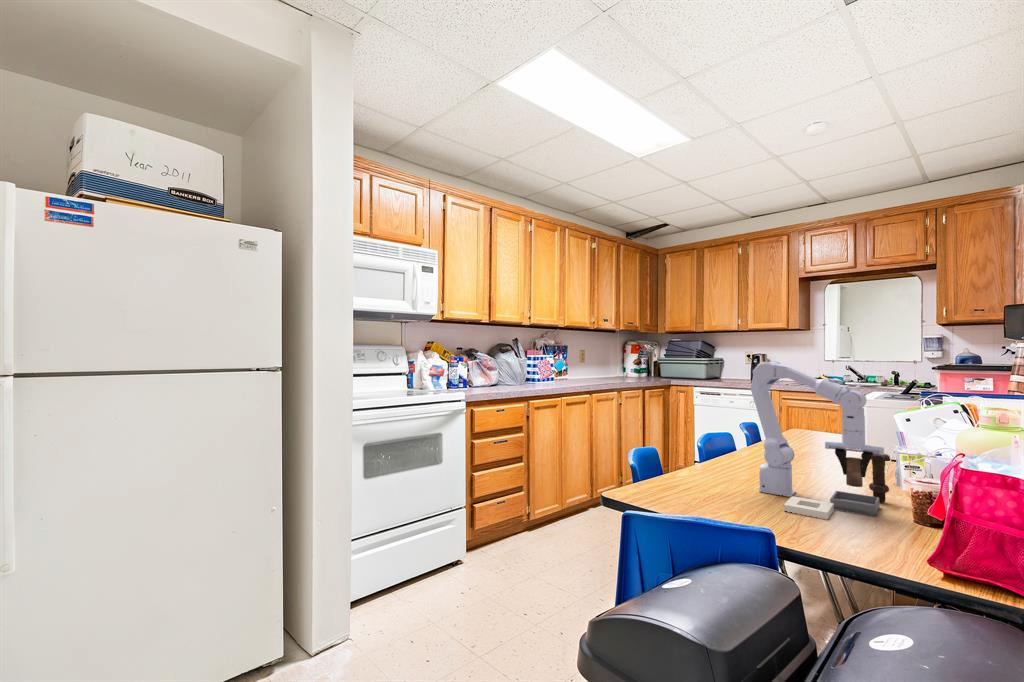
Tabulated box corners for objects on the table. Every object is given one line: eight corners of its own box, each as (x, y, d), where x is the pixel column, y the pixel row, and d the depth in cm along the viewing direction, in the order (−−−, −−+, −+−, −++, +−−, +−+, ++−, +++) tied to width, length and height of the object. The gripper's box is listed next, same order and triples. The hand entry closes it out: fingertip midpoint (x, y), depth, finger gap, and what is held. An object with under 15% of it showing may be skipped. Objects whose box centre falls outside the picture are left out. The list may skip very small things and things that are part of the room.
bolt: (893, 505, 148) (892, 456, 148) (875, 504, 149) (874, 455, 149) (883, 499, 153) (882, 452, 154) (865, 498, 154) (864, 452, 155)
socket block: (783, 511, 143) (783, 504, 143) (792, 502, 151) (791, 496, 151) (827, 519, 135) (827, 512, 135) (833, 510, 144) (833, 503, 144)
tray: (830, 508, 145) (830, 498, 145) (836, 500, 153) (835, 490, 153) (875, 516, 138) (875, 506, 138) (879, 507, 146) (879, 497, 146)
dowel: (845, 485, 145) (844, 458, 146) (847, 482, 148) (847, 456, 148) (861, 487, 143) (860, 460, 143) (863, 485, 145) (863, 458, 146)
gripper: (822, 429, 148) (823, 473, 147) (882, 434, 138) (883, 482, 138) (826, 426, 153) (827, 469, 153) (884, 431, 143) (885, 477, 143)
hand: (854, 475), depth 146 cm, fingers closed on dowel, 4 cm apart
